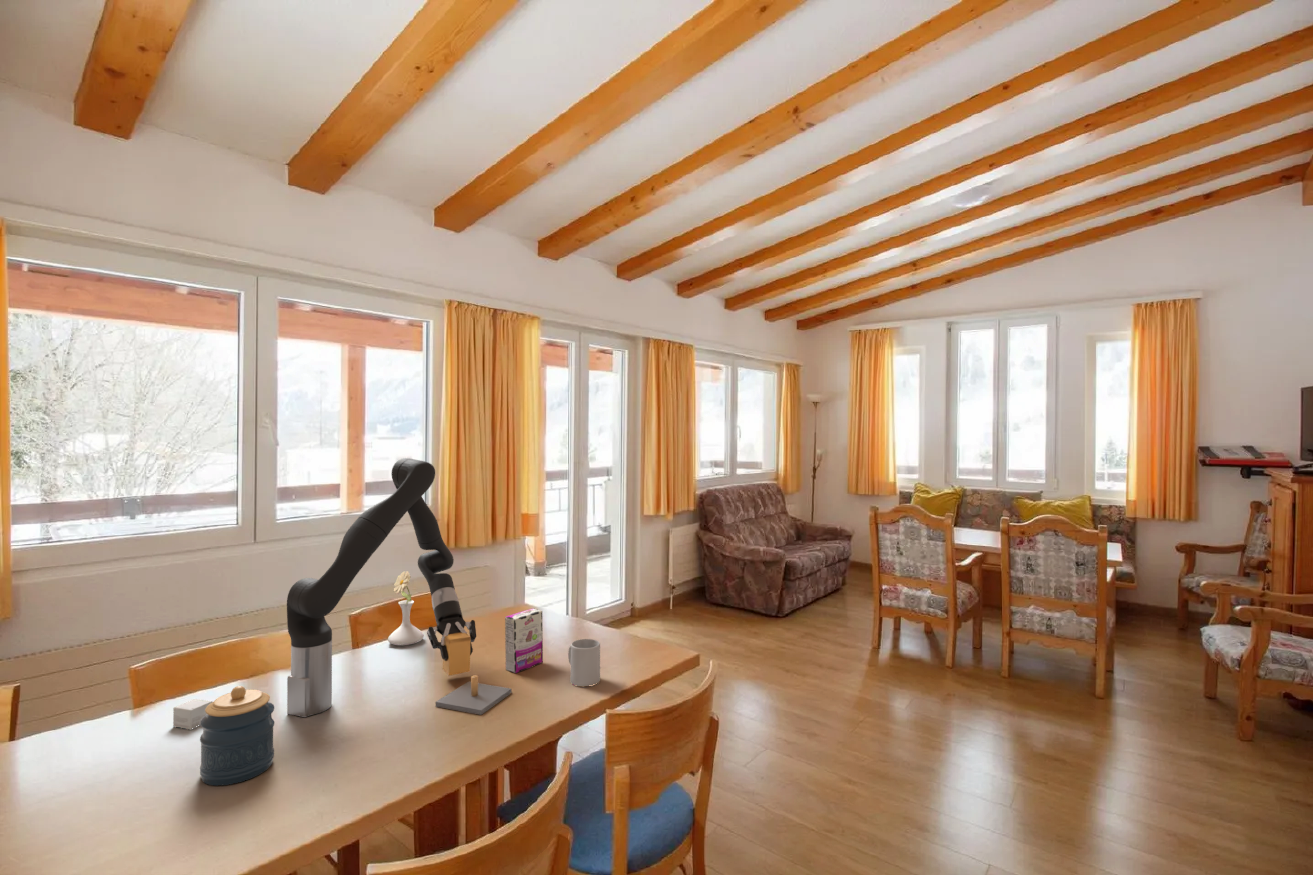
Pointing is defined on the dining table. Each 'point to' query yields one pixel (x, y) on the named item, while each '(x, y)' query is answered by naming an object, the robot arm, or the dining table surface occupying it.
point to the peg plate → (474, 697)
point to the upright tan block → (457, 653)
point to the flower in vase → (405, 616)
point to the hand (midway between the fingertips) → (458, 656)
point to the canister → (236, 737)
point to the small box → (189, 713)
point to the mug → (584, 662)
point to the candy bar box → (523, 640)
